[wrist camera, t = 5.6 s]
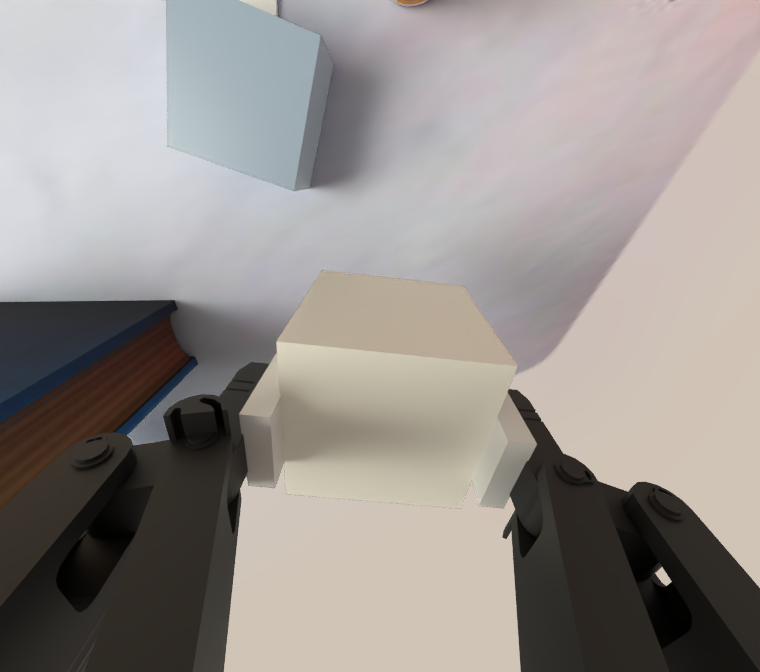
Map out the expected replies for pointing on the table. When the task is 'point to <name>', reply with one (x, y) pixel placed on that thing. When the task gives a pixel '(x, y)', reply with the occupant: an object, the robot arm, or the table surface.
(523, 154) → the table surface
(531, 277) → the table surface
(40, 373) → the book
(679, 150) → the table surface
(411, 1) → the pill bottle
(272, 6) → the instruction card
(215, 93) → the base block
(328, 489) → the cream cube
